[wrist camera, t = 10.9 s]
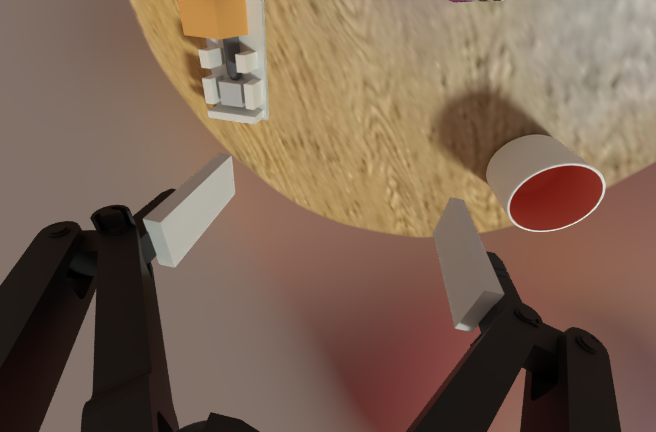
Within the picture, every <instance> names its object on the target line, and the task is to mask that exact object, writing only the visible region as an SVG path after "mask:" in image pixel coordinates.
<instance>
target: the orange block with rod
mask: <svg viewBox="0 0 656 432" xmlns="http://www.w3.org/2000/svg"><path fill="white" fill-rule="evenodd" d="M177 1H178V6H179V11H180V16H181V22H182V27H183V32H184V35H187V36H195V37H203V38H211V39H219V40H220V39H223V44H224V52H225V60H226V68H227V74H228V76H229V77H228V78H226V79H223V80H221V81H219V89H220V95H221V102H222V105H228V106H235V107H244V106H245V94H244V83H246V82H248V81H249V80H244V79H240V78H241V76H242V73H238V72H237V67H236V57H235V54H238V53H240V44H239V36H243V35H248V23H247V9H246V0H177Z"/></svg>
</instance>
